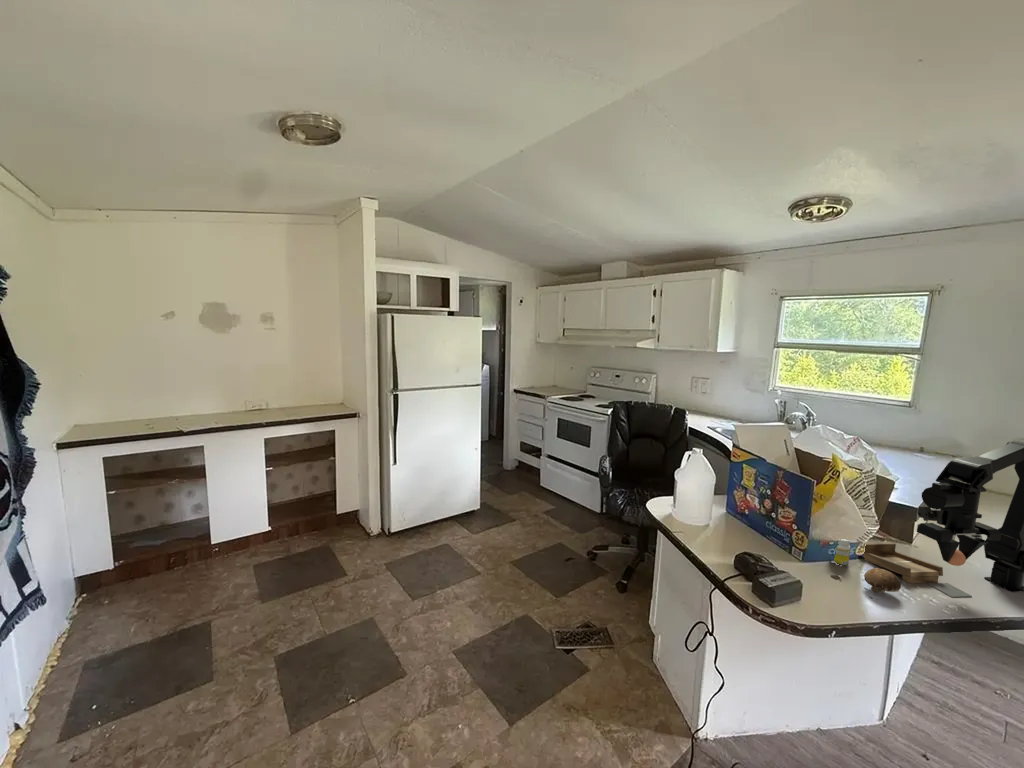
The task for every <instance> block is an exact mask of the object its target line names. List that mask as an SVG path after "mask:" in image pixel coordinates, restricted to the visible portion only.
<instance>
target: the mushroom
mask: <svg viewBox="0 0 1024 768" xmlns="http://www.w3.org/2000/svg"><path fill="white" fill-rule="evenodd" d="M863 577H864V581H865V582H866V583H867V584H868V585H869V586H871V587H870V589H871V590H872V591H874V593H875V592H876V593H878V594H884V593H885V592H888V593H889V592H890V593H891V592H892V593H894V592H895V593H897V592H898V591H900V590H901V588H902V581H901V580H900V578H899V577H898V576H897V575H896V574H894V573H893V572H891V571H890V570H888V569H885V568H879V567H874V568H871V569H868V570H867V571H865V573H863Z"/></svg>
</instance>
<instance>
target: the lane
mask: <svg viewBox="0 0 1024 768" xmlns="http://www.w3.org/2000/svg"><path fill="white" fill-rule="evenodd" d="M865 542H866V546H865V552H864V558H865V559H866V560H865V559H864V560H865V561H866V562H868V563H871V564H874V565H876V566H879V567H881V568H883V569H885V570H888V571H890V572H891V571H892V572H894V573H897V574H900V575H901V577H902V578H901V579H902V580H903V581H904V582H906V583H908V584H926V583H927V584H931V583H939V577H942V576H943V577H944V571H943V570H944V568H943V566H940V565H937V564H934V563H931V562H927V561H926V560H922V559H919V558H916V557H913V556H911V555H907V554H904V553H902V552H898V551H896V547H897V544H896V543H895V542H893V541H871V542H869V541H868V542H867V541H865Z"/></svg>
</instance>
